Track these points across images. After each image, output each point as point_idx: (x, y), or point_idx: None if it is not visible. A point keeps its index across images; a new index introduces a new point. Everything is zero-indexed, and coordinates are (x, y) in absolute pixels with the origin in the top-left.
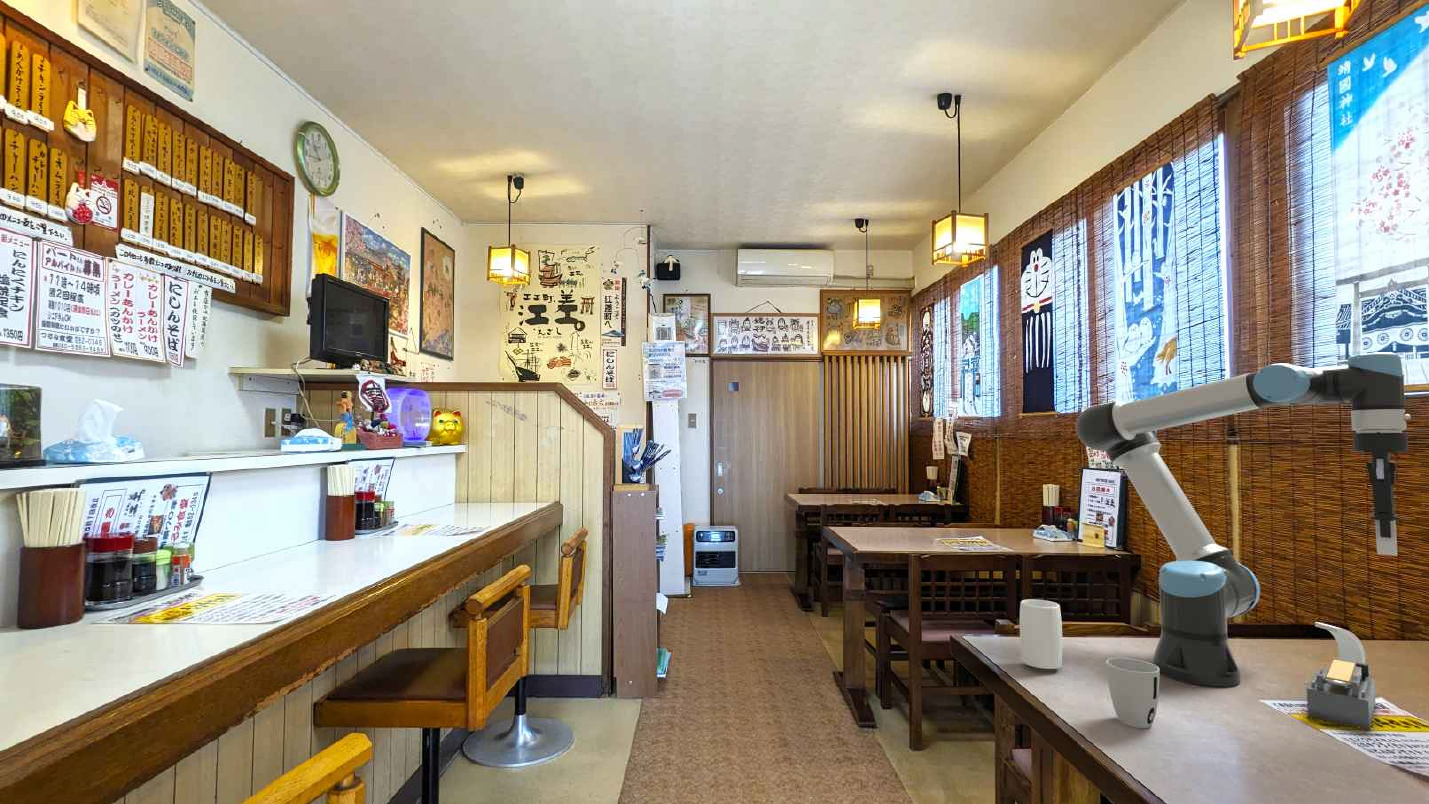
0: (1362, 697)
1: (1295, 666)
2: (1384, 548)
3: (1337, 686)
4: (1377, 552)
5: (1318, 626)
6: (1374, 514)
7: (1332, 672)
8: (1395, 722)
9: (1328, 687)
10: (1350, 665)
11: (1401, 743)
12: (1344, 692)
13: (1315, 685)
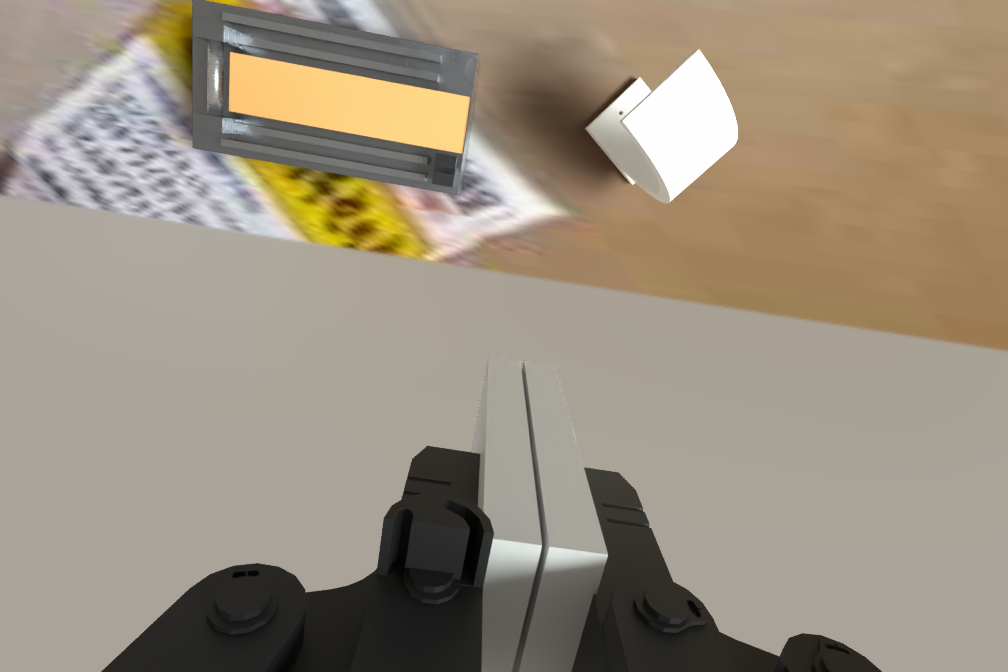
0: (219, 139)
1: (774, 28)
2: (480, 417)
3: None
4: (489, 361)
5: (682, 62)
6: (222, 595)
7: (296, 75)
8: (348, 210)
9: None
10: (423, 137)
11: (186, 197)
12: None
13: (249, 27)
